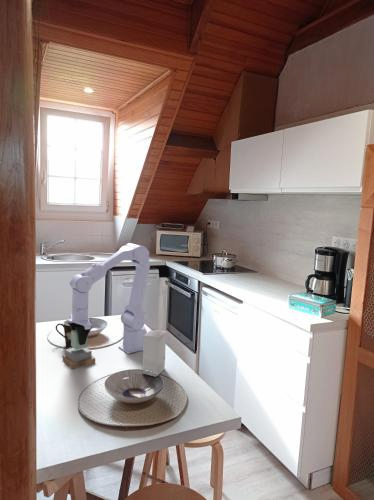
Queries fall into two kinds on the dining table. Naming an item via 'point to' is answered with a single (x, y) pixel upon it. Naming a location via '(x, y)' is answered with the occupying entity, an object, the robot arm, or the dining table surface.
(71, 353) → the grey square slab
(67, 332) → the coffee mug
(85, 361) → the tan square slab
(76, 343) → the green column
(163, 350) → the skincare box
